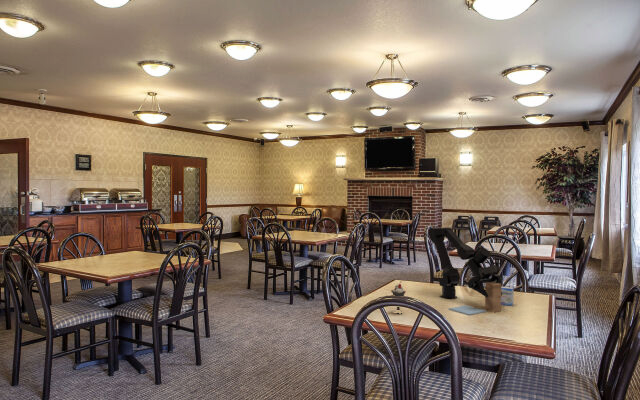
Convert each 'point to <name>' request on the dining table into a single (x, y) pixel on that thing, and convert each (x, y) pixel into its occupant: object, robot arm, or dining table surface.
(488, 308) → the walnut block
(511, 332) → the dining table surface
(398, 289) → the sundae
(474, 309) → the slate mat
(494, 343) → the dining table surface
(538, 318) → the dining table surface
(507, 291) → the medicine box
